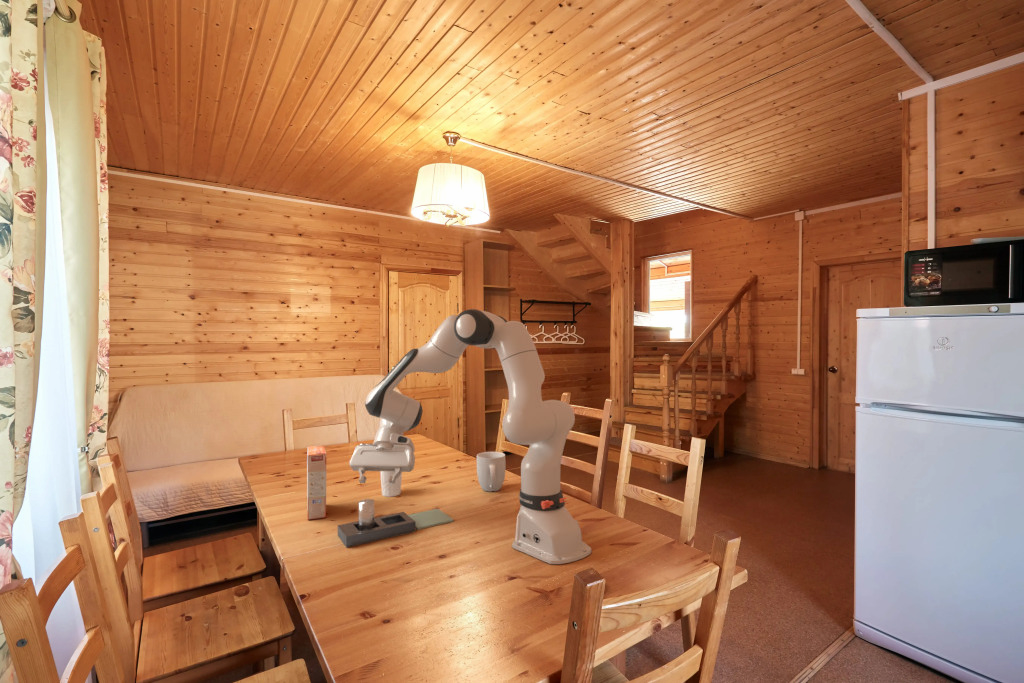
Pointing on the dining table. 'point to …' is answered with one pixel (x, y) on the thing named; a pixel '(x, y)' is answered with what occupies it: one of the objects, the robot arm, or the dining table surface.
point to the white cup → (389, 488)
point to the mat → (430, 518)
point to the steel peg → (366, 514)
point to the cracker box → (316, 482)
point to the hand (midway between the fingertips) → (376, 482)
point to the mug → (491, 470)
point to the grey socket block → (376, 529)
